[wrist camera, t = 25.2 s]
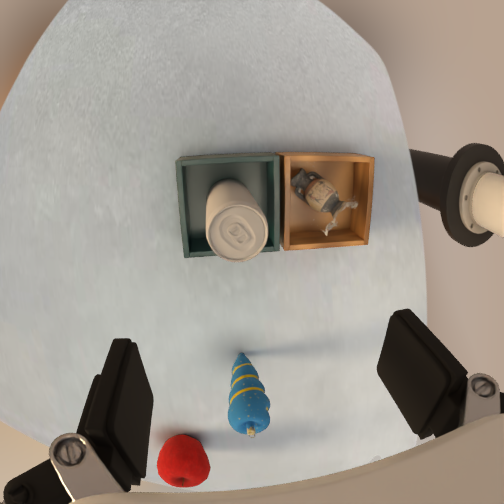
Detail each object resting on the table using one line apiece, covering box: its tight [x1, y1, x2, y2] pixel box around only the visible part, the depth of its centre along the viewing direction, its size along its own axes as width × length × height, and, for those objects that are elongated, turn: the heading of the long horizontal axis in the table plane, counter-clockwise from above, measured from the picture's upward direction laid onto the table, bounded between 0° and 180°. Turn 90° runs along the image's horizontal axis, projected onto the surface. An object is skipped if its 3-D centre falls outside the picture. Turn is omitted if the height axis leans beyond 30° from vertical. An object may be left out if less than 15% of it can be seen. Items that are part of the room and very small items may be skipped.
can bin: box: [175, 152, 280, 258], centre depth 32 cm, size 10×10×5 cm
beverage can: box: [206, 179, 268, 262], centre depth 29 cm, size 5×5×12 cm
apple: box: [157, 434, 210, 487], centre depth 45 cm, size 10×10×11 cm
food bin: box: [275, 152, 375, 251], centre depth 34 cm, size 10×10×5 cm
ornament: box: [228, 353, 270, 438], centre depth 36 cm, size 5×5×15 cm
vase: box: [291, 162, 358, 236], centre depth 32 cm, size 5×5×6 cm
